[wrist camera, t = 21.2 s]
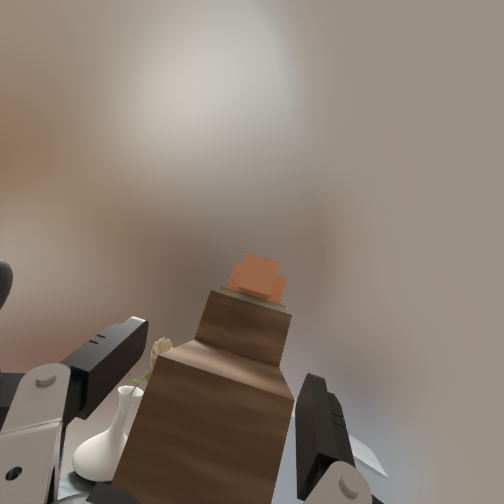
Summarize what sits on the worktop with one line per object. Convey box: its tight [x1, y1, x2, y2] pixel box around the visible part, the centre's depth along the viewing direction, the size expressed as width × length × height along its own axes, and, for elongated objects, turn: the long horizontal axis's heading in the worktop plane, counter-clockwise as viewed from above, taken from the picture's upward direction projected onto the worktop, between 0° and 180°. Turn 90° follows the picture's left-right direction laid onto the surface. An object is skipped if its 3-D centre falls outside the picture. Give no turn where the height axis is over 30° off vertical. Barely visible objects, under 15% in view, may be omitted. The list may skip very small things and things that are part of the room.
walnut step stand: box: [110, 286, 295, 504], centre depth 30 cm, size 25×12×38 cm, turn 179°
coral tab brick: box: [228, 253, 286, 304], centre depth 37 cm, size 19×8×4 cm, turn 0°
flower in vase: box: [72, 337, 173, 482], centre depth 50 cm, size 13×11×25 cm
